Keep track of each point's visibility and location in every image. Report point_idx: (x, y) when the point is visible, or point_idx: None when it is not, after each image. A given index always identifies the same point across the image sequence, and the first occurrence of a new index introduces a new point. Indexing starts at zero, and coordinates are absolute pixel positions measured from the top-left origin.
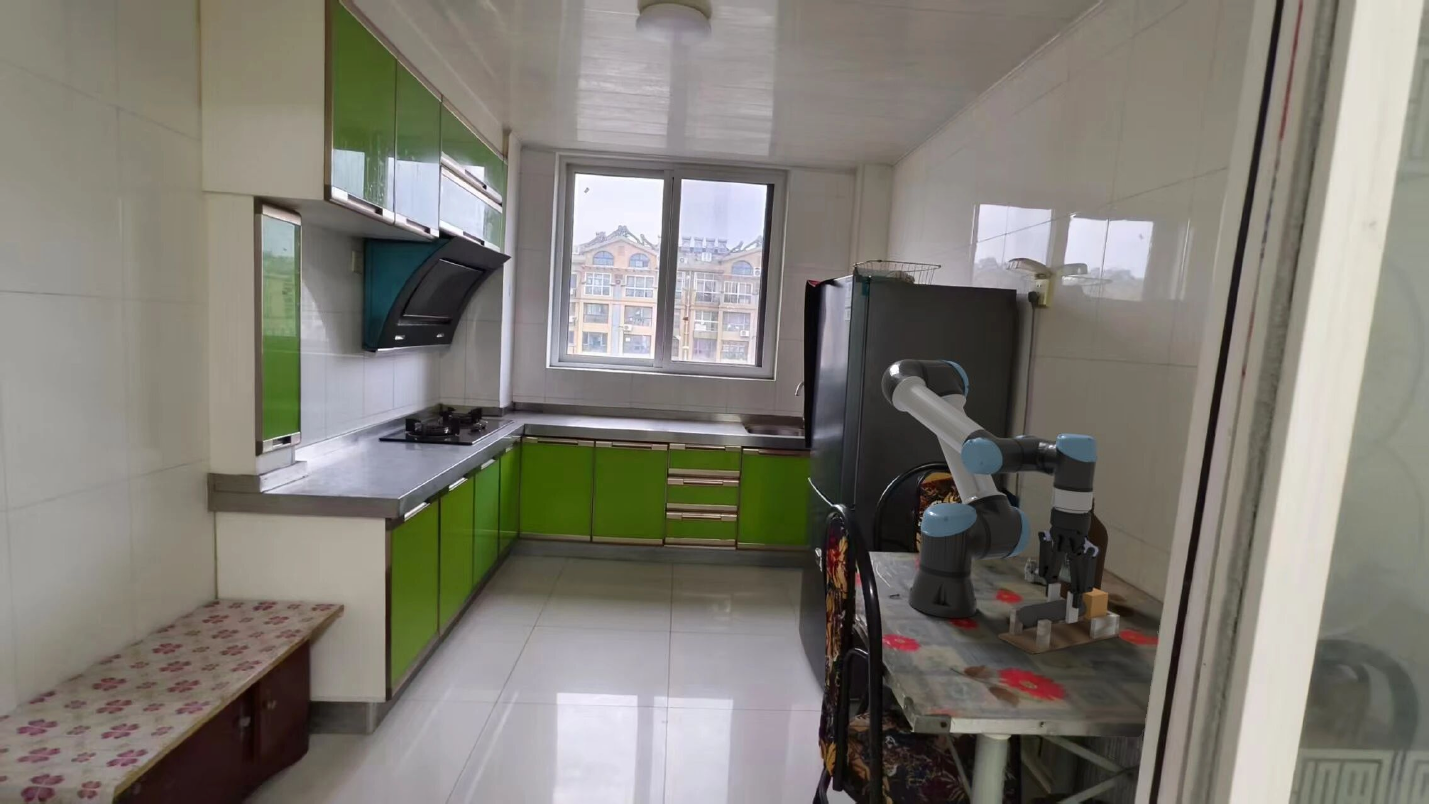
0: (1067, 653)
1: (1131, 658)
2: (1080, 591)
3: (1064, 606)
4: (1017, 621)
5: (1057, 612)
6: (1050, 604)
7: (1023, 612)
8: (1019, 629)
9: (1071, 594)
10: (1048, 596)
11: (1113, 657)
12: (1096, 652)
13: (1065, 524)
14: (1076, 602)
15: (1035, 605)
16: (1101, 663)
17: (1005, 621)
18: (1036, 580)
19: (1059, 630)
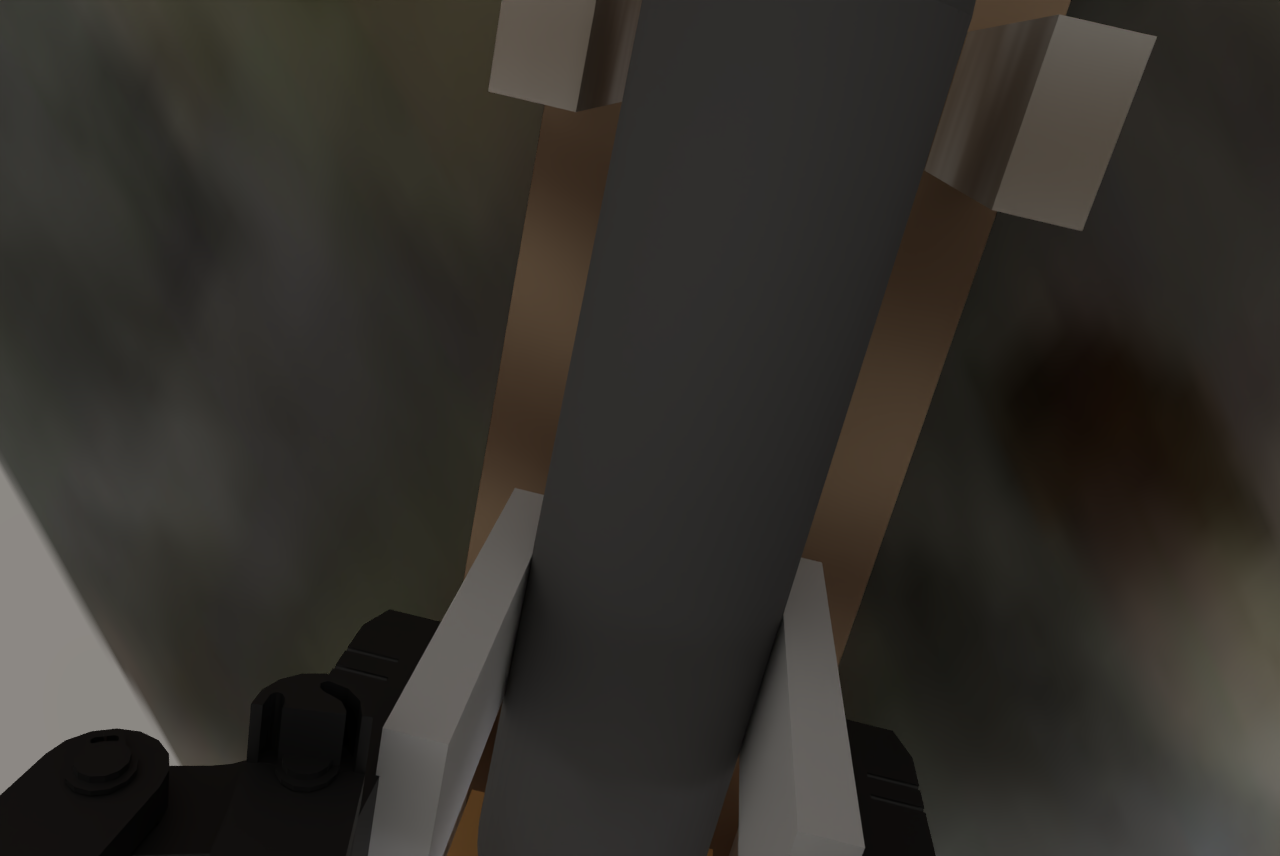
0: (431, 184)
1: (128, 564)
2: (162, 755)
3: (554, 604)
4: (990, 76)
5: (563, 412)
6: (659, 432)
7: None
8: (950, 129)
9: (394, 721)
10: (829, 695)
11: (197, 464)
12: (319, 444)
13: None
14: (358, 664)
15: (776, 133)
16: (162, 247)
17: (1227, 415)
18: None
19: None
